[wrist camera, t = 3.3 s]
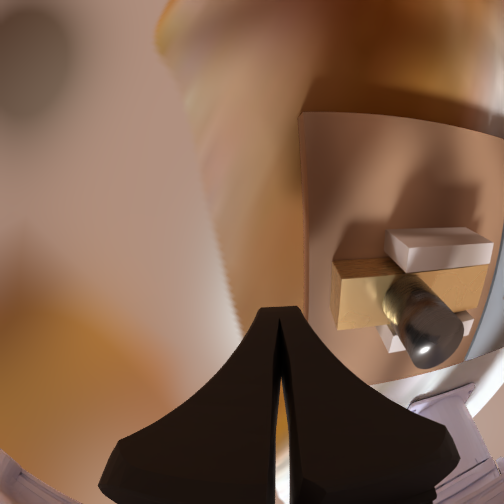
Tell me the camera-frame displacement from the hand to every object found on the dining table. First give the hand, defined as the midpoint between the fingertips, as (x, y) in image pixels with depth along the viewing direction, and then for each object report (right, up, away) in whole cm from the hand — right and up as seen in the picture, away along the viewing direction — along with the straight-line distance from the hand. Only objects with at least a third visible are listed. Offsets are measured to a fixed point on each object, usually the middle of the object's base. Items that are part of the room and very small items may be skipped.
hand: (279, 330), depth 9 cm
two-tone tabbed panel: (+12, +2, +4) cm, 13 cm away
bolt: (+7, +1, +2) cm, 7 cm away
